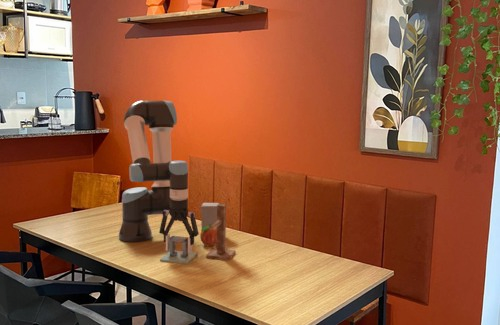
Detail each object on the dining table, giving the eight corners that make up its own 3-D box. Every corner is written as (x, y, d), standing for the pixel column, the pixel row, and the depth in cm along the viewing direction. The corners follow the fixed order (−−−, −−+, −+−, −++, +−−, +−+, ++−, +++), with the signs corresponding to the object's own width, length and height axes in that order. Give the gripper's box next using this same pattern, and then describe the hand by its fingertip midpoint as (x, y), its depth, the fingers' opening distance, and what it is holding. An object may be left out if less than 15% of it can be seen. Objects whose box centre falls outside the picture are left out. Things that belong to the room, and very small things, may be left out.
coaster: (159, 261, 207) (159, 259, 207) (171, 252, 219) (171, 250, 219) (187, 263, 205) (187, 262, 205) (197, 254, 216) (197, 252, 216)
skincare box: (220, 233, 247) (220, 202, 245) (217, 238, 240) (218, 205, 238) (203, 233, 248) (203, 201, 246) (200, 237, 241) (200, 205, 238)
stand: (200, 263, 205) (200, 211, 202) (213, 250, 222) (213, 201, 219) (224, 266, 203) (224, 213, 200) (235, 252, 220) (236, 203, 216)
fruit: (223, 244, 230) (223, 223, 229) (208, 249, 223) (208, 227, 222) (210, 240, 236) (211, 220, 234) (195, 245, 229) (195, 223, 228)
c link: (169, 256, 211) (169, 237, 210) (172, 254, 214) (172, 235, 213) (185, 257, 210) (185, 239, 208) (188, 255, 212) (188, 237, 211)
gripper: (150, 198, 207) (150, 251, 210) (201, 202, 202) (200, 256, 205) (157, 194, 214) (158, 245, 218) (206, 198, 209) (206, 250, 213)
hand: (178, 250), depth 211 cm, fingers open, 9 cm apart
